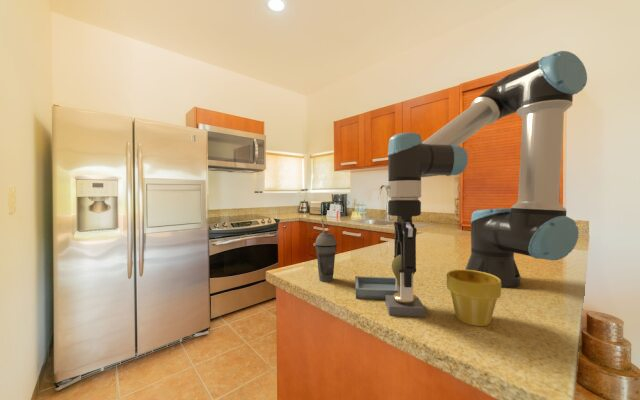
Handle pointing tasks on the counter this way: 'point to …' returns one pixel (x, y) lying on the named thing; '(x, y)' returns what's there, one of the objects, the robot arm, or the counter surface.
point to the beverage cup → (325, 255)
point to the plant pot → (473, 295)
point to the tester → (404, 307)
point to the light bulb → (395, 267)
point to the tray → (374, 287)
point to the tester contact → (397, 298)
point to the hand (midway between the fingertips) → (403, 294)
